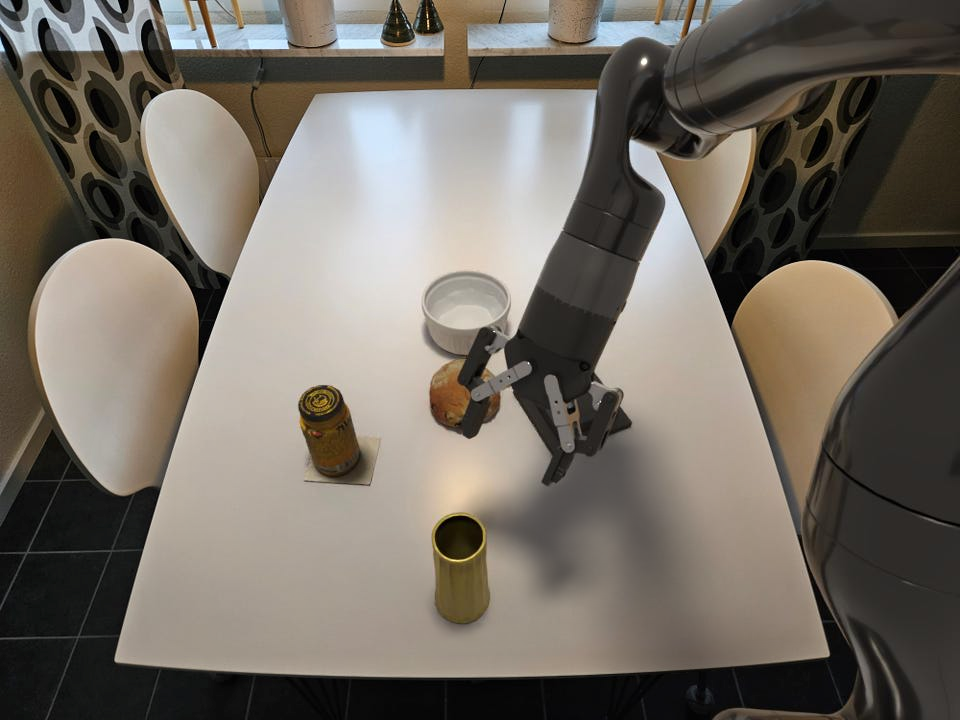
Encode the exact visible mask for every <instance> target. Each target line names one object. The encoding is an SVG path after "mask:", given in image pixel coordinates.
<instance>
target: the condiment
mask: <svg viewBox="0 0 960 720" xmlns="http://www.w3.org/2000/svg"><path fill="white" fill-rule="evenodd" d="M297 409H298V412H299V425H300V428H301V432H302V435H303V437H304V439H305V443H306V446H307V450H308V452H309V455H310V460H309V464H308V467H307V469H306V473H305V476H304V481H308V482H309V481H310V482H317V483H318V482H322V483H333V484H334V483H337V484H340V483H342V484H344V483H345V484H353V485H371V481H372V478H373V474H374V469H375V466H376V462H377V457H378V452H379V449H380V444H381V438H382V437H377V436H361V435H357V434H356V431H355V427H354V422H353V418H352V414H351V411H350V408H349V406H348V404H347V403H346V402H345V399H344V396H343V394H342V392H341V391H340V390H339V389H338V388H337V387H335V386H332V385H329V384H318V385H315V386H312V387H310V388H308V389H307V390H305V391H304V392H303V393H302V394H301V396H300V398H299V400H298V404H297Z"/></svg>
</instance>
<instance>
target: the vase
mask: <svg viewBox="0 0 960 720" xmlns="http://www.w3.org/2000/svg"><path fill="white" fill-rule="evenodd" d="M431 531H432V532H431V547H432V556H433V564H434V565H433V566H434V575H435V577H434V578H435V590H434V603H435V606H436V609H437V610H438V612H439V613H440V615H441V616H442V617H444V618H445V619H446V620H448V621H450V622H452V623H456V624H467V623H471V622H475V621H476V620H478V619H479V618H480V617H481V616H482V615H483V614H484V613H485V612H486V610H487V609H488V607H489V603H490V599H491V594H490V593H491V592H490V588H489V578H488V565H487V563H488V562H487V533H486V532H487V531H486V528H485V526H484V524H483V523H482V521H481V520H480V519H479V518H477V517H476V516H474V515H472V514H470V513H468V512H462V511H461V512H452V513H449V514H446V515H444V516H443V517H442V518H440V519H439V520H438V521H437V522H436V524H435V525H434V527H433V529H432V530H431Z"/></svg>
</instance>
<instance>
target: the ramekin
mask: <svg viewBox="0 0 960 720" xmlns="http://www.w3.org/2000/svg"><path fill="white" fill-rule="evenodd" d="M511 296H512V295H511V292H510V290H509V288H508V286H507V285H506V283H504V281H502V280H501V279H500V278H498V277H497V276H495V275H494V274H491V273H489V272H486V271H482V270H477V269H455V270H451V271H448V272H444V273H442V274H440V275H438V276H436V277H434V278H433V279H432V280H431V281H429V283H428V284H427V285H426V286H425V288H424V289H423V292H422V294H421V310H422V313H423V316H424V318H425V321H426V326H427V329H428V331H429V334H430V337H431V339H432V340H433V342H435V344H437V345H438V347H440V348H441V349H443V350H445V351H446V352H449V353H451V354H455V355H461V356H468V353H469V351H470V349H471V347H472V345H473V343H474V341H475V338H476V336H477V334H478V332H479V330H480V329H481V328H483V327H489V326H498V327H500V329H501V331H502V333H503V334H505V330H506V327H507V323H508V317H509V314H510V311H511V307H512V297H511Z"/></svg>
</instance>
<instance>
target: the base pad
mask: <svg viewBox="0 0 960 720" xmlns="http://www.w3.org/2000/svg"><path fill="white" fill-rule="evenodd" d="M594 380H595V382H598V383H600V384H602V385H605V384H604V383H603V381H602V380H601V379H600V378H599V376H598V375H597V374H596V372H594ZM512 394H513V395H514V397H515V398H516V400H517V401H518V403H519V404H520V406H521V409H522V410H523V411H524V413H525V414H526V416H527V418H528V419H529V421H530V422H531V424H532V425H533V427H534V429H535V430H536V432H537V434H538V435H539V436H540V438H541V440H542V441H543V443H544V445H545V446H546V448H547V449H548V451H549V453H550V454H551V456H552V457H553V455H554V453H555V450H556V448H557V447H559V446H560V445H561V443H560V438H559V433H558V429H557V427H556V426H555V424H554V420H553V416H552V411H551V410H545V411H544V410H542V409H540V408H539V407H537V406H536V405H535V404H534V403H532V402H531V401H530V400H527V399H523V398H520V397H518V396H517V395H515V392H514V390H513V389H512ZM576 401H577V406H578V410H579V424H580V428H581V433H582V436H587V435H588V433H589V430H590V428H591V425H592V423H593V420H594V418H595V415H596V413H597V410H595V409H594V408H593V406H592V402H593V397H592V395H591V394H590V393H589V392H588V393H587V394H585V395H583V396H581V397H579V398H577V399H576ZM570 407H571V406H570ZM632 426H633V421H632V420H631V418H630V417H629V416H628V415H627V414H626V412H625V411H624V409H623V408H622V406H620V407H619V410H618V412H617V415H616V417H615V419H614V422H613V424H612V427H611V429H610V432H609V434H608V436H611V435H613V434H616V433H618V432H619V433H620V432H622V431H625V430H626V429H629V428H631V427H632Z"/></svg>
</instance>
